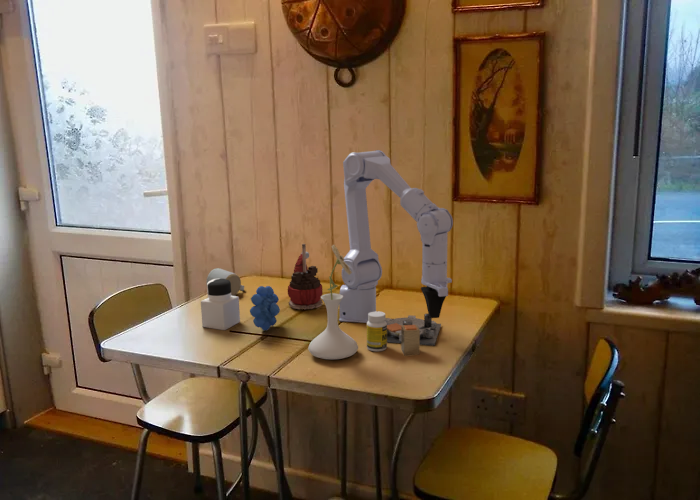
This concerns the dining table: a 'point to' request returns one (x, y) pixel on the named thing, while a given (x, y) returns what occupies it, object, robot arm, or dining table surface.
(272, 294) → the grapes
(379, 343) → the supplement bottle
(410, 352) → the link block
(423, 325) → the sprocket
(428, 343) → the base plate
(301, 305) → the cake
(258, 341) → the dining table surface
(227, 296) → the medicine bottle
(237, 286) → the ceramic mug
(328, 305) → the flower in vase
